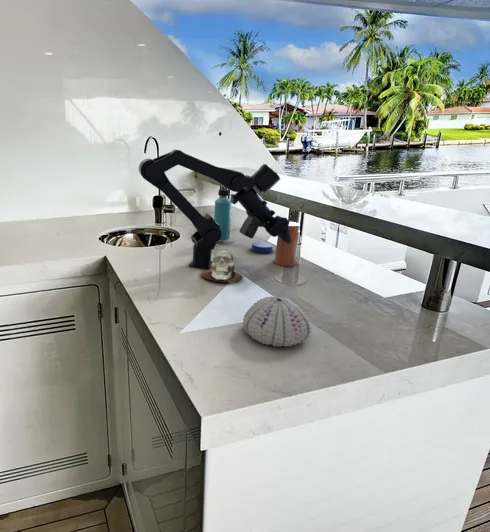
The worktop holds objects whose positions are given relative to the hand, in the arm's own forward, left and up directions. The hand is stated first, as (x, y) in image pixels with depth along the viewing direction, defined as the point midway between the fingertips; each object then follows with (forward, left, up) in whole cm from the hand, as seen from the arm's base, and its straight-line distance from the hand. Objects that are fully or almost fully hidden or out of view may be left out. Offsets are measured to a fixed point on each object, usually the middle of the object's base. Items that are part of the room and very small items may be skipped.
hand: (282, 238), depth 120 cm
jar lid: (+12, +7, -6) cm, 15 cm away
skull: (-20, +15, -8) cm, 27 cm away
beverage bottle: (+17, +23, -8) cm, 30 cm away
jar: (+1, -1, -8) cm, 8 cm away
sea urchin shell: (-49, -2, -8) cm, 50 cm away
